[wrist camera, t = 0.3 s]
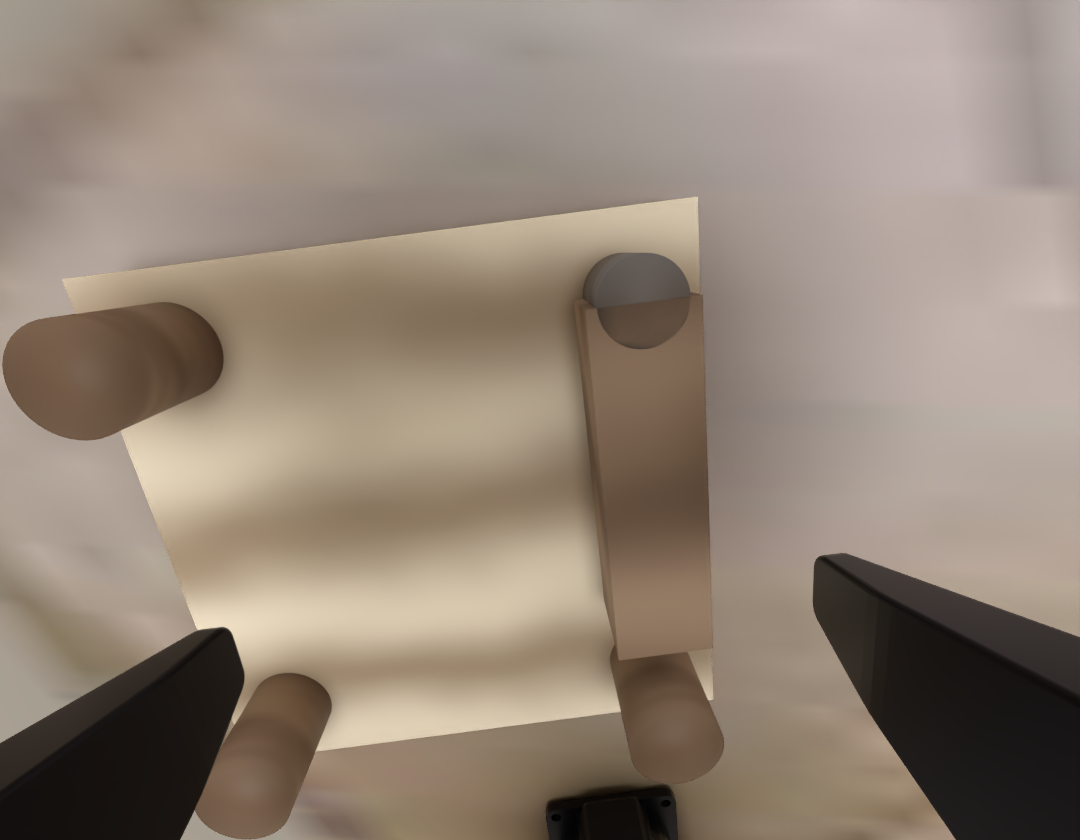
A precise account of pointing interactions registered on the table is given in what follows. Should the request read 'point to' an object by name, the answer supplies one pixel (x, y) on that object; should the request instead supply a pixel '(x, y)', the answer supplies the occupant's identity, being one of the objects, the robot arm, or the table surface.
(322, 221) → the table surface
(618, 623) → the hinged leg
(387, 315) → the stool seat
